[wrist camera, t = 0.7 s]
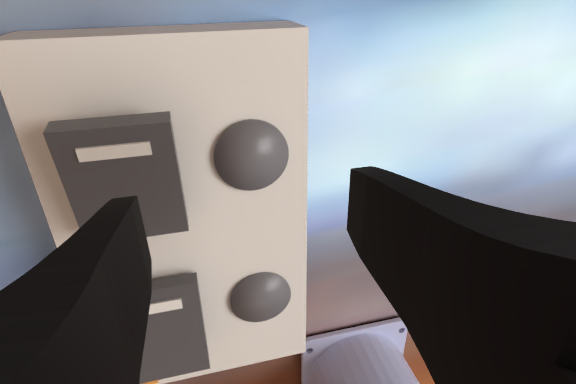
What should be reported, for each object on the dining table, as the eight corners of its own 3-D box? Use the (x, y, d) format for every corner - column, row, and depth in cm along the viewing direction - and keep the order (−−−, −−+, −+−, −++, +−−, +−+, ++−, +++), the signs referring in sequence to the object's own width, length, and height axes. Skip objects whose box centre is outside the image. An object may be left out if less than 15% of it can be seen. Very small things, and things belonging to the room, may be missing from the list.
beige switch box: (292, 315, 26) (306, 354, 23) (116, 351, 24) (109, 398, 21) (289, 20, 18) (309, 27, 15) (14, 31, 15) (-20, 42, 13)
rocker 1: (187, 209, 18) (188, 232, 17) (91, 222, 17) (85, 247, 16) (169, 104, 15) (170, 123, 14) (52, 114, 14) (42, 134, 13)
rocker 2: (208, 348, 21) (210, 370, 20) (129, 365, 20) (124, 388, 19) (196, 266, 19) (197, 283, 18) (108, 280, 18) (102, 300, 17)
